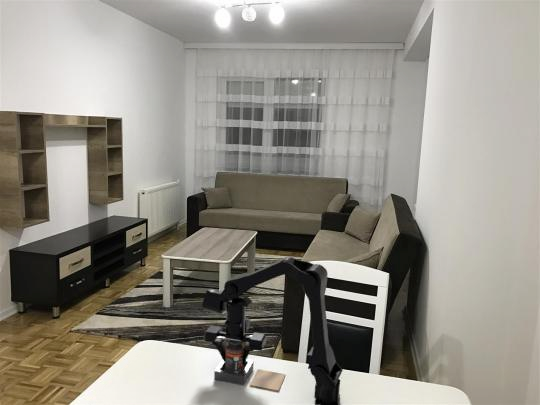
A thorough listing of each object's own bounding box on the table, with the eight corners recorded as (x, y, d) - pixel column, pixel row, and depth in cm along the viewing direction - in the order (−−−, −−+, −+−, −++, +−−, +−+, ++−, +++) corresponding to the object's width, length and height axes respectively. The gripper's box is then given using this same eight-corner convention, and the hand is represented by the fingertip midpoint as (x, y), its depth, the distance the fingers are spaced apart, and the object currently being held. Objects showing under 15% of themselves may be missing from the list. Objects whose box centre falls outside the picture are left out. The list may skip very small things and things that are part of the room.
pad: (285, 375, 144) (285, 374, 143) (278, 391, 135) (278, 390, 135) (258, 370, 146) (258, 369, 146) (249, 386, 137) (249, 384, 137)
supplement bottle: (240, 381, 140) (241, 347, 137) (222, 378, 141) (222, 344, 139) (245, 370, 145) (246, 337, 143) (227, 367, 147) (228, 335, 144)
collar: (253, 368, 146) (253, 360, 146) (244, 385, 137) (244, 376, 137) (225, 363, 149) (225, 355, 148) (214, 379, 140) (214, 370, 139)
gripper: (271, 309, 145) (269, 354, 148) (216, 301, 149) (216, 345, 152) (262, 325, 134) (260, 373, 137) (203, 315, 139) (202, 362, 142)
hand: (234, 362), depth 142 cm, fingers closed on supplement bottle, 6 cm apart
